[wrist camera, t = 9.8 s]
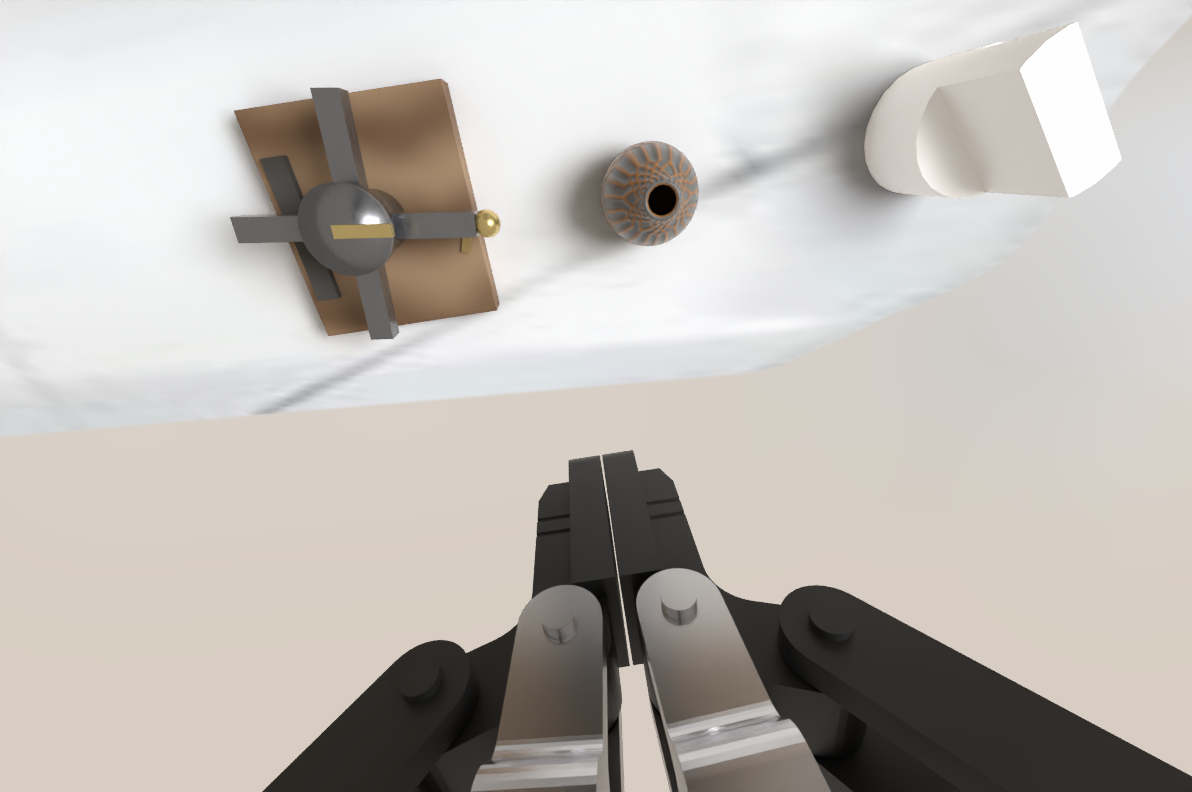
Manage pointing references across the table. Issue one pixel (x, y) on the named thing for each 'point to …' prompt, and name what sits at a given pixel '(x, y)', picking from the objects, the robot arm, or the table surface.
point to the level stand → (398, 167)
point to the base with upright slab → (995, 122)
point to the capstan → (357, 218)
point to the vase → (649, 193)
